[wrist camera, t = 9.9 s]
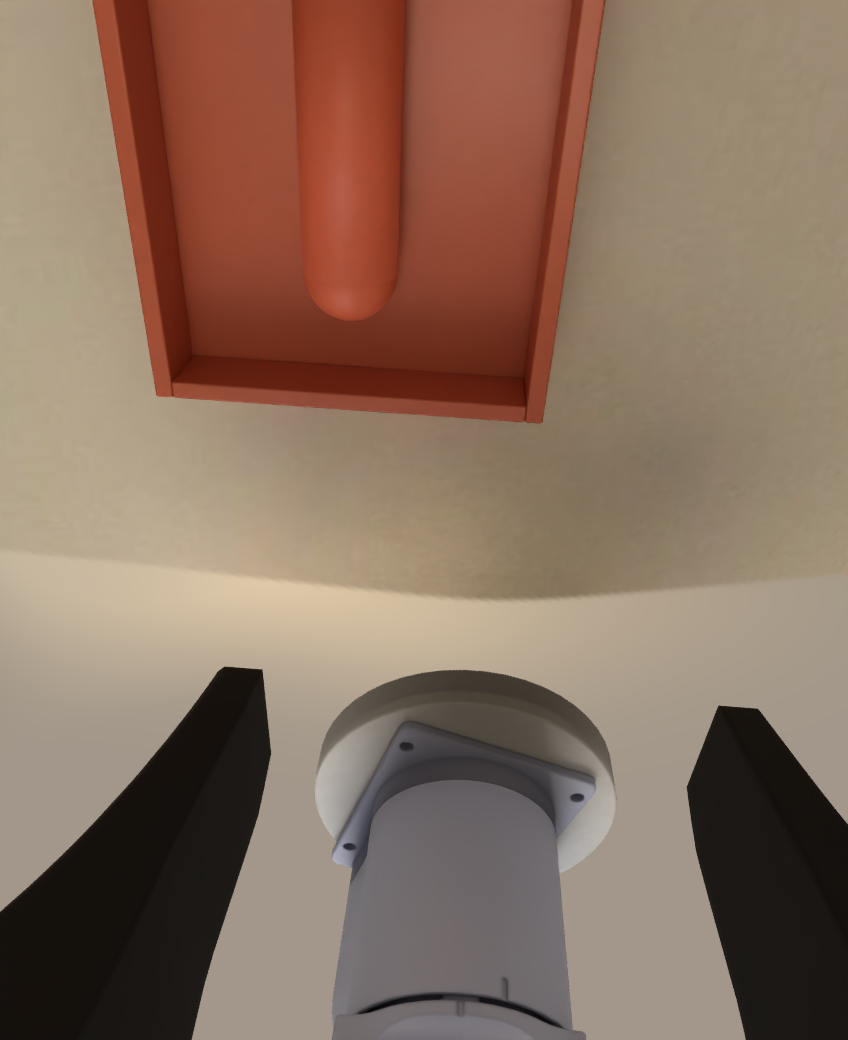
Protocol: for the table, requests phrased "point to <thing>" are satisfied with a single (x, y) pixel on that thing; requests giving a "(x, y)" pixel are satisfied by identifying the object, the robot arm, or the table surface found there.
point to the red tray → (422, 214)
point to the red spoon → (349, 150)
